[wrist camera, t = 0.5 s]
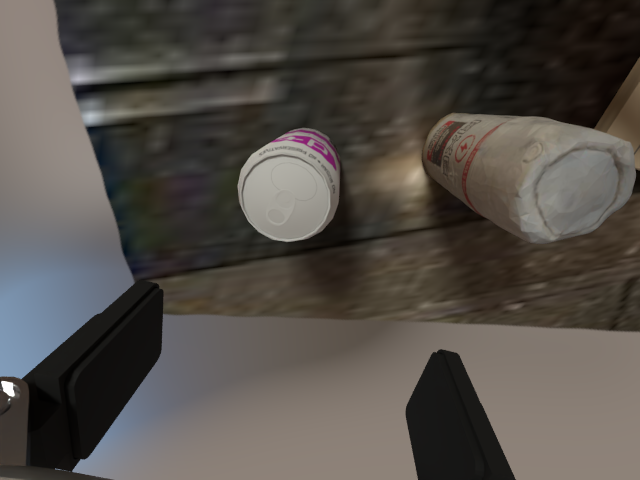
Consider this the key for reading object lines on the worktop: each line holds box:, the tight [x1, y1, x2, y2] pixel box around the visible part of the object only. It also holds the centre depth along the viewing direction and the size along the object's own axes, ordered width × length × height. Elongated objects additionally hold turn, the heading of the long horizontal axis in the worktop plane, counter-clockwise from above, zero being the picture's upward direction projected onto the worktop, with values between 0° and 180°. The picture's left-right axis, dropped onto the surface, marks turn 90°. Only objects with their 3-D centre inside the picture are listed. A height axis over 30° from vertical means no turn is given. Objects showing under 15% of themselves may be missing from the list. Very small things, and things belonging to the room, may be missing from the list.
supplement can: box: [238, 128, 340, 242], centre depth 32 cm, size 8×8×15 cm
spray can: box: [422, 113, 636, 244], centre depth 27 cm, size 8×8×20 cm
